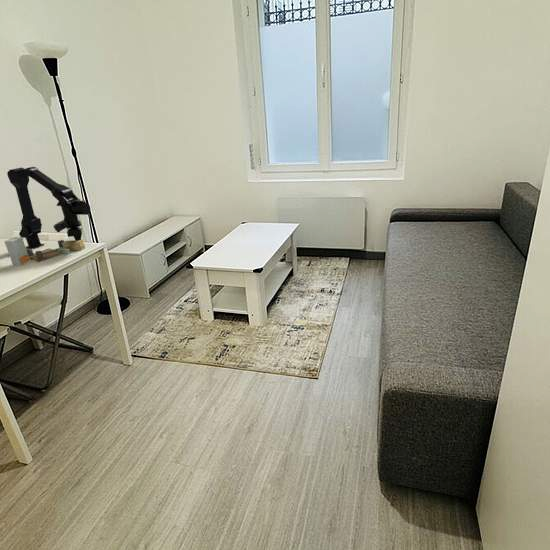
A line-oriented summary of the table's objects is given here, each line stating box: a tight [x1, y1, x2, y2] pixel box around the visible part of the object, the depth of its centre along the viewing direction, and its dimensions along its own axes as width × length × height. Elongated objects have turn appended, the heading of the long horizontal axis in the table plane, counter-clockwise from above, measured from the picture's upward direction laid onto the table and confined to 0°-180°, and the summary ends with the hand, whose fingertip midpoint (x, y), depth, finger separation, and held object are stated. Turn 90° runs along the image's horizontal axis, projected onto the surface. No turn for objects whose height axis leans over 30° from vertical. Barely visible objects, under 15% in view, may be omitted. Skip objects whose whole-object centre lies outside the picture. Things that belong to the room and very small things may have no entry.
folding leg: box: [57, 239, 86, 252], centre depth 191 cm, size 12×4×5 cm, turn 87°
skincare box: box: [4, 236, 31, 267], centre depth 176 cm, size 6×4×12 cm
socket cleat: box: [57, 247, 71, 256], centre depth 187 cm, size 7×2×2 cm, turn 59°
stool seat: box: [26, 247, 63, 263], centre depth 185 cm, size 11×13×4 cm
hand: (79, 244), depth 195 cm, fingers closed
